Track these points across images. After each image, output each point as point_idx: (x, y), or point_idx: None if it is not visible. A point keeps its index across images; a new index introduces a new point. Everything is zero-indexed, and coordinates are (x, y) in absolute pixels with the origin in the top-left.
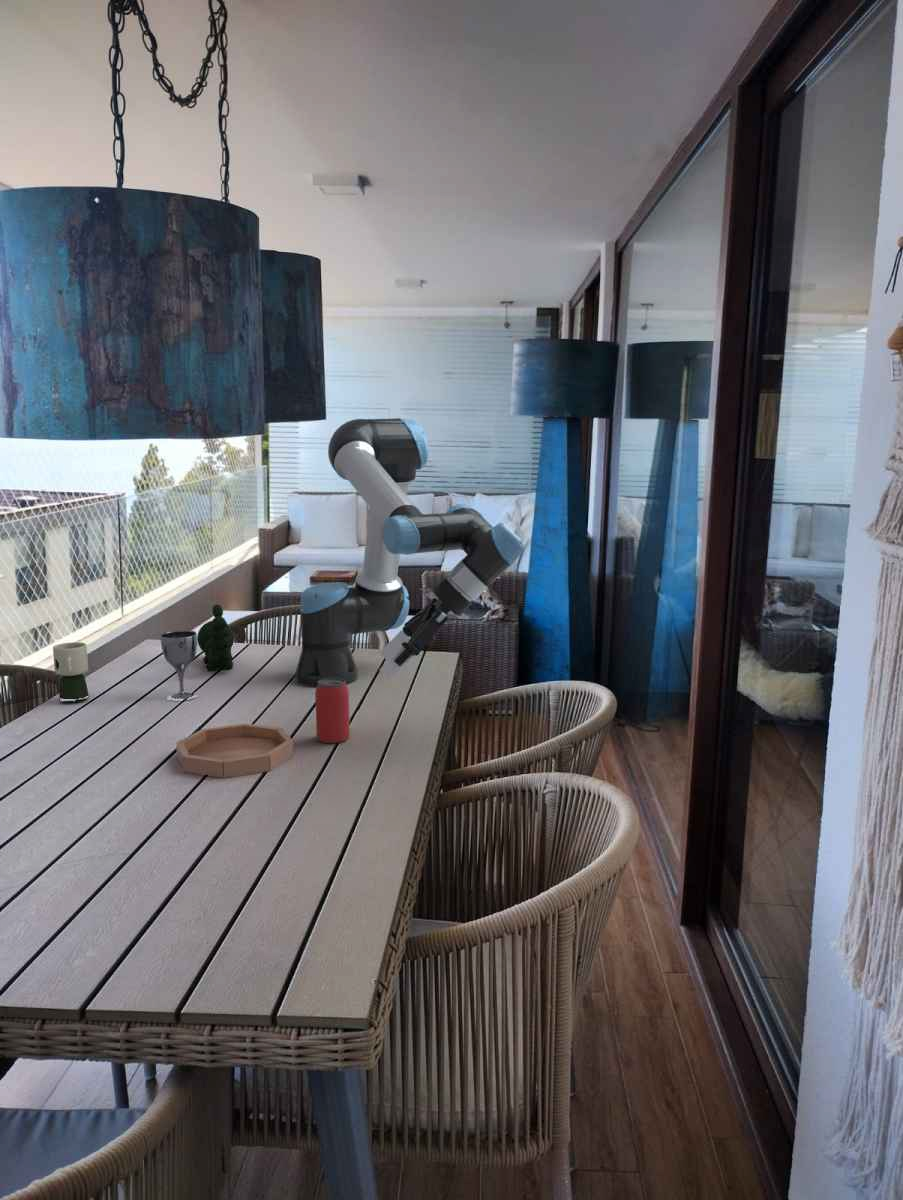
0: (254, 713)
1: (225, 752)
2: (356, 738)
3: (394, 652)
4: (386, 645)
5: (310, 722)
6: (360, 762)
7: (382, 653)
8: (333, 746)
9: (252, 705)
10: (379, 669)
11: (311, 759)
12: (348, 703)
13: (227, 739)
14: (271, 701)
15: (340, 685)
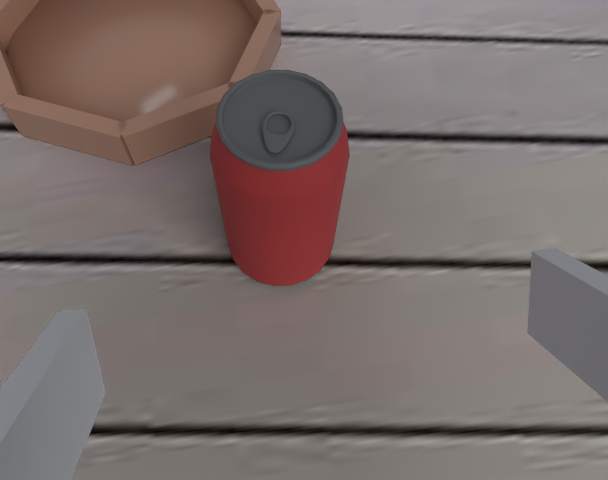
0: (475, 24)
1: (133, 23)
2: (291, 310)
3: (572, 352)
4: (592, 274)
5: (428, 156)
6: None
7: (539, 272)
8: (212, 253)
9: (539, 9)
10: (81, 308)
11: (100, 214)
12: (280, 230)
13: (229, 9)
14: (587, 39)
15: (238, 157)
